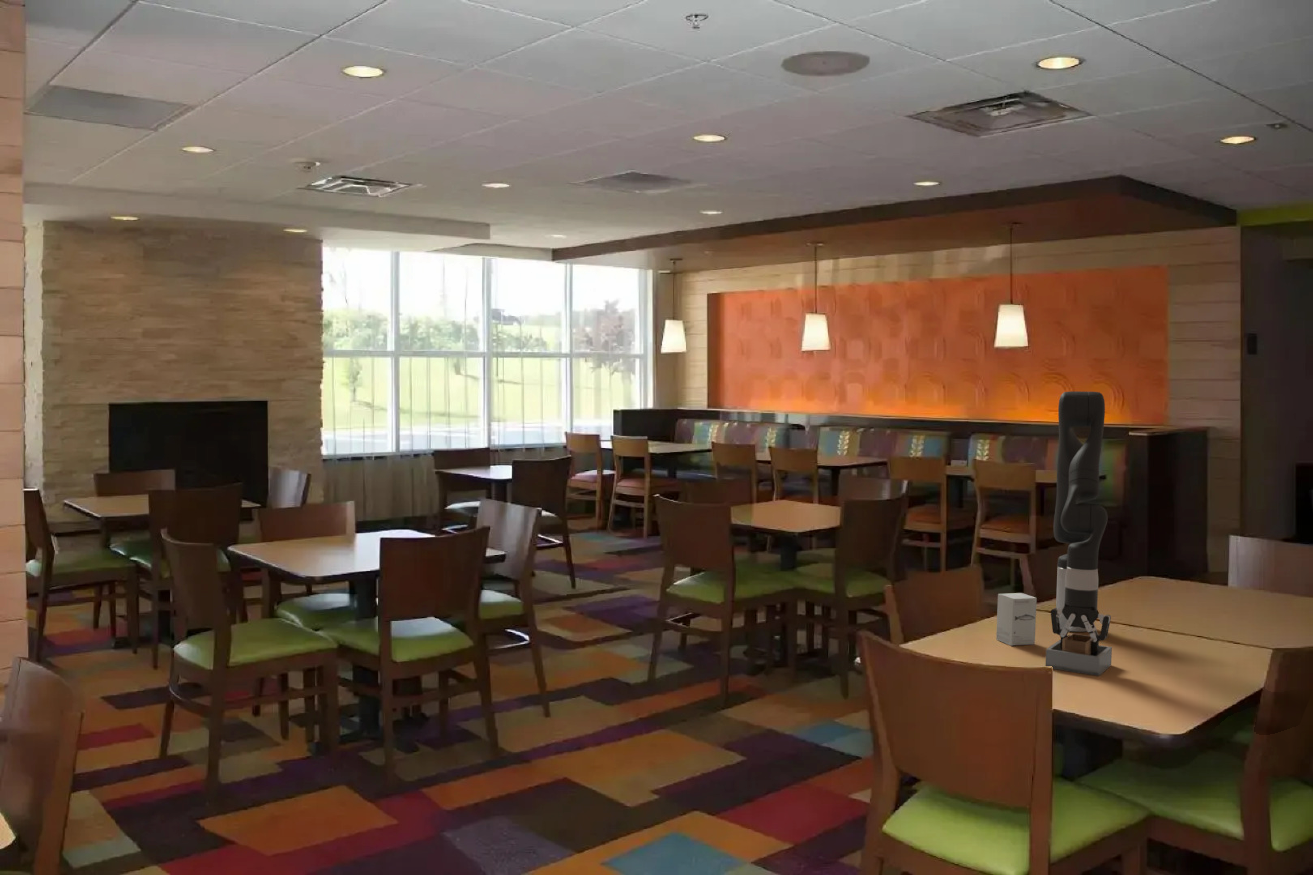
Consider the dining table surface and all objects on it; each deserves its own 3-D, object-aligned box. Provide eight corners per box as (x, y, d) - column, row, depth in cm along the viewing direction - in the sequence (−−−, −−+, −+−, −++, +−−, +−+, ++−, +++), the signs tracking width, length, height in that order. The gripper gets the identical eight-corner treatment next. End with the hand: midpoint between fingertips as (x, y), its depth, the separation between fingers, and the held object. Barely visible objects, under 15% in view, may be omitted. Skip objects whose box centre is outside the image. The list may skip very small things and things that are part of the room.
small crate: (1070, 651, 277) (1071, 633, 277) (1095, 654, 274) (1096, 636, 273) (1061, 657, 271) (1062, 639, 270) (1087, 661, 267) (1088, 643, 267)
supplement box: (1011, 646, 292) (1012, 598, 291) (995, 639, 299) (997, 593, 298) (1035, 644, 294) (1037, 597, 293) (1019, 638, 301) (1021, 591, 300)
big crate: (1059, 657, 281) (1060, 639, 281) (1111, 665, 274) (1111, 647, 274) (1045, 667, 271) (1046, 649, 271) (1098, 676, 264) (1099, 657, 263)
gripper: (1116, 587, 270) (1113, 655, 271) (1055, 580, 278) (1053, 646, 279) (1108, 592, 264) (1106, 662, 265) (1047, 584, 272) (1044, 652, 273)
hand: (1078, 653), depth 272 cm, fingers closed on small crate, 6 cm apart
